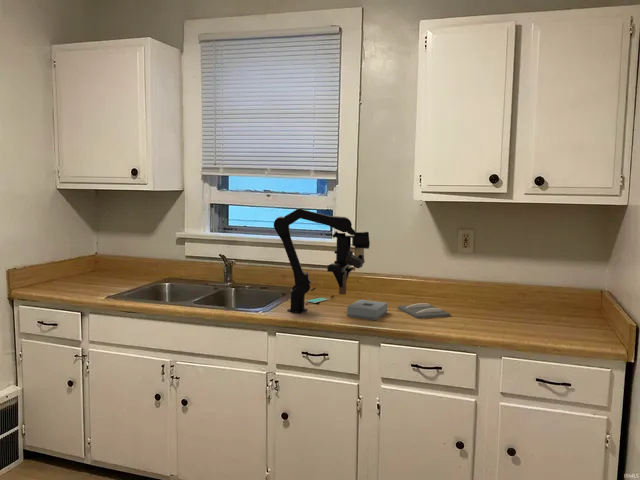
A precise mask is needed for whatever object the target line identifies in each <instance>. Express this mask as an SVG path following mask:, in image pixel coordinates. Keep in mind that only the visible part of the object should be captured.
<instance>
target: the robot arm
mask: <svg viewBox="0 0 640 480" xmlns="http://www.w3.org/2000/svg"><path fill="white" fill-rule="evenodd" d="M298 220H304V221H305V220H307V221H309V222H314V223H316V224H317V223H318V224H321V225H325V226H329V227H330V228H333V229H335V230H336V231H335V232H333V234H332V235H331V237H332V238H336V246H335V247H336V250H334V254H336V256H335V259H336V260H334V263H330V264H328V265H327V266H326V267H327V269H326V271H327V272H329V273H332V274H333V276H334V278H335V280H336V282H337V284H338V288H339V287H342V286H343V281H344V275H345V274H346V273H347V281H346V283H347V282H348V279H349V275H350V273H351V272H352V271H354V269H355V268H356V269H361V268H363V266H364V263H365V262H366V261H365V255H363V254H358V256H357V255H355V254H353V253H354V252H353V250H351V246H352V247H353V248H354V249H358V250H359V249H360V250H363V249H364V250H365V249H366V250H367V249H368V250H369V249H370V243H371V241H370V235H369V234H370V233H369V231H356V230H355V229H354V228H353V227H352V225H353V224H352V221H351V220H350V219H349V217H346V216H337V215H336V216H334V215H326V214H323V213H318V212H315V211H311V210H306V209H303V208H302V207H301V208H300V207H298V208H296V209H295V210H293V211H291V212H289V213H288V214H286V215H284V216H278V217H277V218H275V220H274V222H273V229H274V230H275V232H276V233H277V235H278V237H279V238H280V240H281V242H282V243H283V248H284V249H285V254H286V255H287V258H288V262H289V263H290V267H291V269H292V273H293V278H294V285H293V286H292V287H291V288H290V308H287V310H286V311H287V312H292V313H299V314H302V313H304V312H306V311H308V308H307V307H306V306H305V305H306V303H305V302H306V300H305V299H306V294H307V293H308V292H309V291H310V290H311V284H312V281H311V278H310V277H309V273H308V272H309V271H306V272H304V270H303V268H302V265H301V262H300V259H299V257H298V254H297V251H296V248H295V246H294V242H293V240H292V236H291V231H290V225H292V224H293V223H295V222H297V221H298ZM346 233H347V234H349V235H347V234H346Z"/></svg>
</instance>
